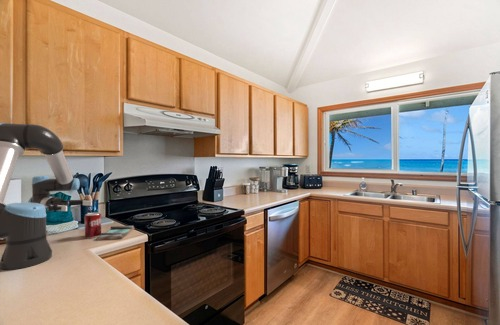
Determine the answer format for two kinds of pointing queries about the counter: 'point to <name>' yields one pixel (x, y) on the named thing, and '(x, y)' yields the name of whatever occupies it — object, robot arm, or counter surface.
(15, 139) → the robot arm
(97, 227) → the soda can
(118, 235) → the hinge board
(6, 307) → the counter surface
